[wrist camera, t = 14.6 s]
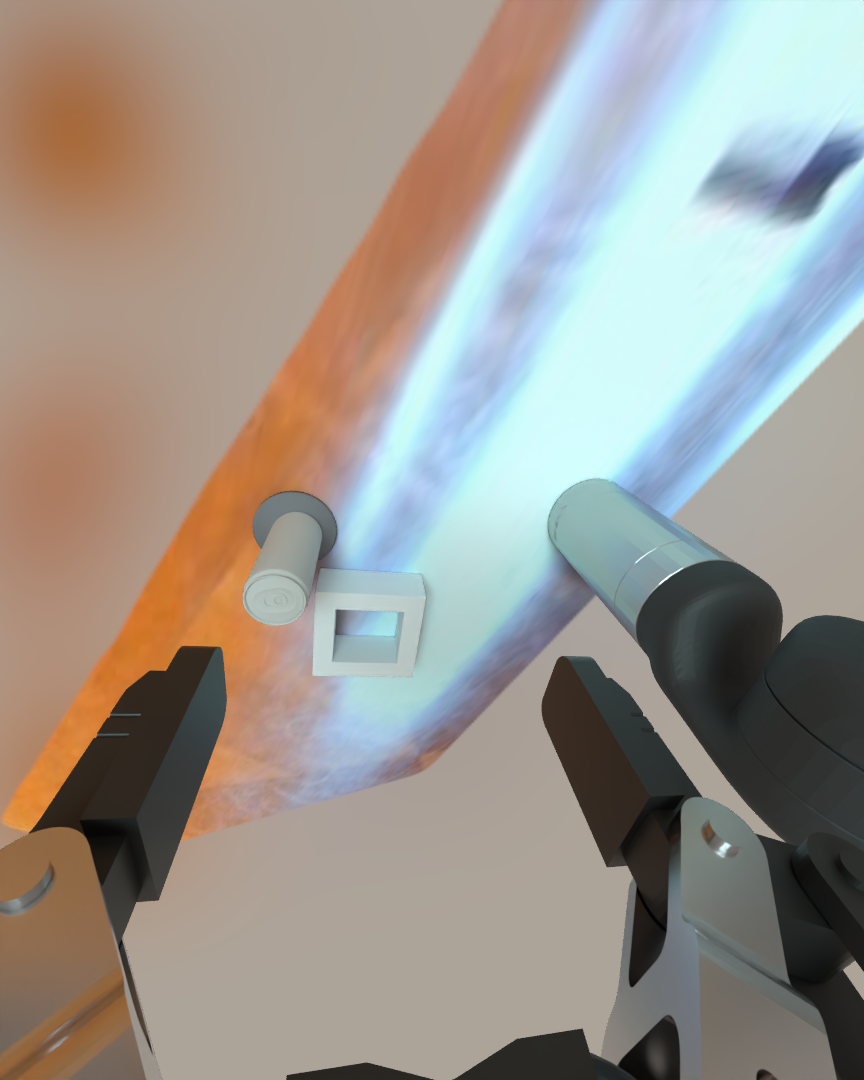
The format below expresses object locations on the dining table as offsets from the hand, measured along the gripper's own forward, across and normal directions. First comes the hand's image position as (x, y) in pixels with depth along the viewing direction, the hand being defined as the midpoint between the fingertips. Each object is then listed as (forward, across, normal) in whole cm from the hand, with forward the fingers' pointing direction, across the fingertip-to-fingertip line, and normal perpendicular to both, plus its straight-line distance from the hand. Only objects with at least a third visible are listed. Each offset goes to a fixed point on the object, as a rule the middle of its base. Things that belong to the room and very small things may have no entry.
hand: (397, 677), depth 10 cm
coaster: (+32, +7, +12) cm, 35 cm away
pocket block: (+32, -1, +22) cm, 39 cm away
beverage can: (+32, +7, +12) cm, 35 cm away
